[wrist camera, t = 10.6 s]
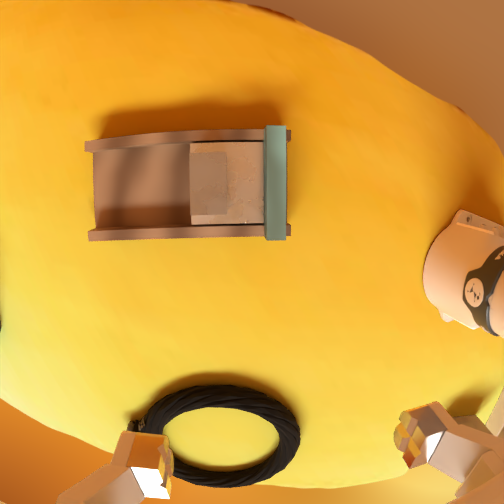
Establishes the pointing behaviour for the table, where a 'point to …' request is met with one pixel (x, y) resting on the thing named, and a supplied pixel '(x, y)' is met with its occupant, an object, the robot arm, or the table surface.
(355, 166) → the table surface
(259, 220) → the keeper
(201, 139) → the drawer
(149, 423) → the cable lock
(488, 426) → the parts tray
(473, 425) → the cassette player
